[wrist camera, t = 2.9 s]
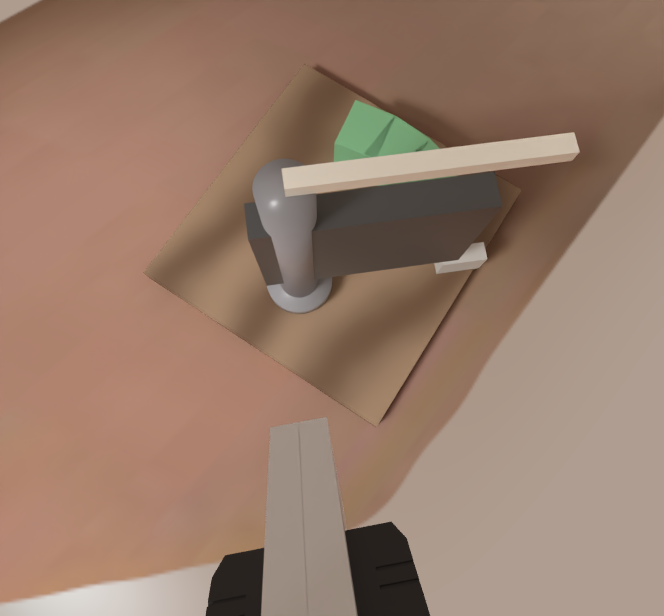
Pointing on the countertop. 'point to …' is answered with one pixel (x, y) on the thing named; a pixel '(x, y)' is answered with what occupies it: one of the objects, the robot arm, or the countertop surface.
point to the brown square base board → (347, 291)
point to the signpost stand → (378, 212)
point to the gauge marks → (389, 139)
